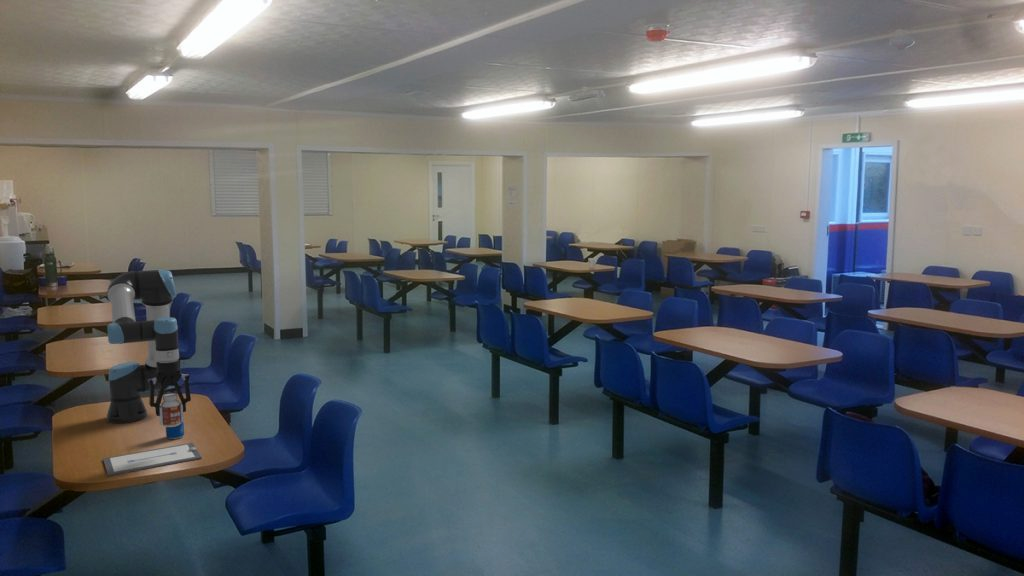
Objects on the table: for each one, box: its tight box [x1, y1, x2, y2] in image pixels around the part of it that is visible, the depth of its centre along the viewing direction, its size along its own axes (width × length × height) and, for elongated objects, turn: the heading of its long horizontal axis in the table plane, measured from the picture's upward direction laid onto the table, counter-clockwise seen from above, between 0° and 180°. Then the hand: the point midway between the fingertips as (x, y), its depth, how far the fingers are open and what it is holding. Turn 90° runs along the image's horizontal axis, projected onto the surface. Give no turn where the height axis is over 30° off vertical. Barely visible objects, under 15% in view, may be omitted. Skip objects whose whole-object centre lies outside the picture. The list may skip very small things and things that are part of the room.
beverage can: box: [165, 417, 185, 440], centre depth 289 cm, size 6×6×12 cm
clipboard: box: [102, 442, 203, 477], centre depth 266 cm, size 18×30×1 cm, turn 124°
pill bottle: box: [160, 393, 181, 428], centre depth 267 cm, size 6×6×11 cm
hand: (171, 422), depth 268 cm, fingers closed on pill bottle, 6 cm apart
